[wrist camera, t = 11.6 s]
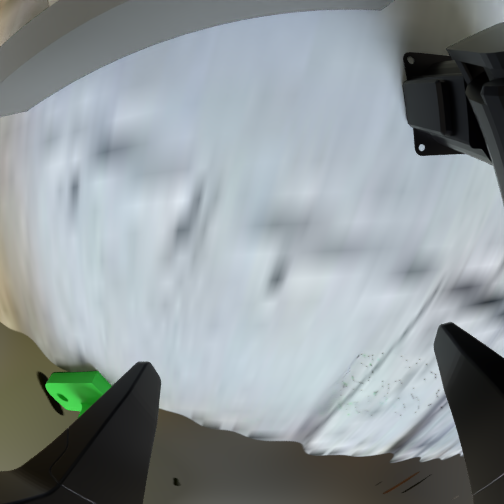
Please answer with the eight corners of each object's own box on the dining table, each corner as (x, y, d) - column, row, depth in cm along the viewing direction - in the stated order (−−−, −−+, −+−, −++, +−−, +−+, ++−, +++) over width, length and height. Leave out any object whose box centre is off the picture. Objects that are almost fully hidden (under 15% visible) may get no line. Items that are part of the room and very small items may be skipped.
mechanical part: (98, 369, 27) (71, 426, 20) (128, 401, 30) (109, 455, 23) (44, 372, 30) (20, 415, 23) (71, 399, 33) (51, 441, 26)
